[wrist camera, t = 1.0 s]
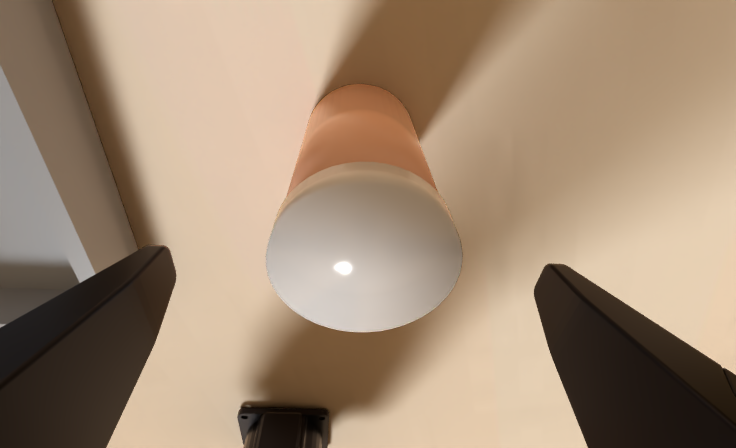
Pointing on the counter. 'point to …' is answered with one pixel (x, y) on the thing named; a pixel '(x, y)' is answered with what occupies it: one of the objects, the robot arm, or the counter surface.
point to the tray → (49, 168)
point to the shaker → (362, 220)
